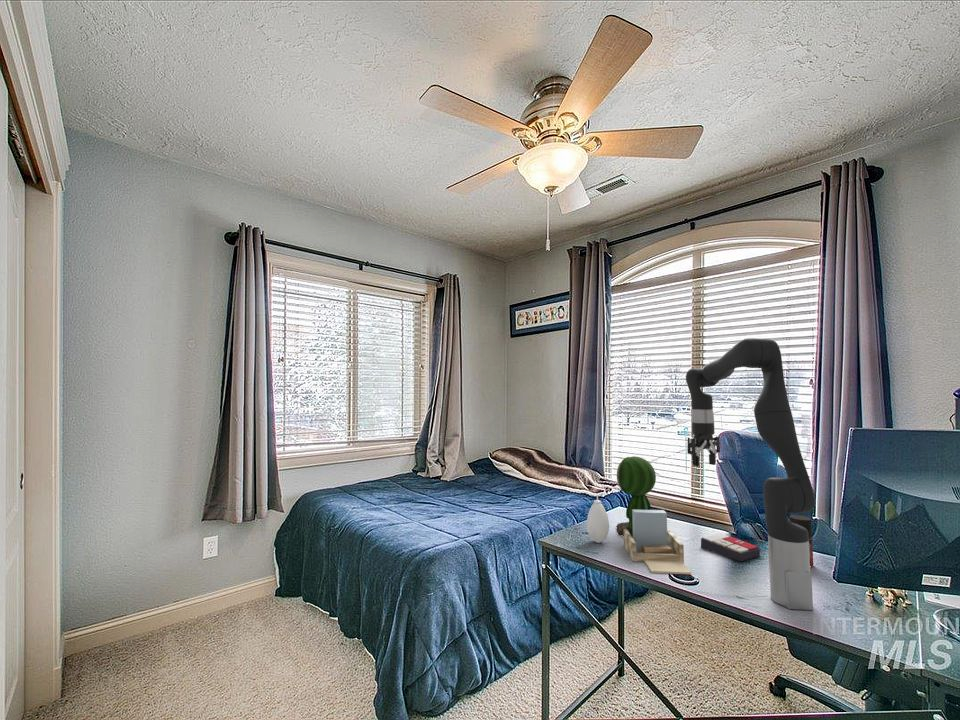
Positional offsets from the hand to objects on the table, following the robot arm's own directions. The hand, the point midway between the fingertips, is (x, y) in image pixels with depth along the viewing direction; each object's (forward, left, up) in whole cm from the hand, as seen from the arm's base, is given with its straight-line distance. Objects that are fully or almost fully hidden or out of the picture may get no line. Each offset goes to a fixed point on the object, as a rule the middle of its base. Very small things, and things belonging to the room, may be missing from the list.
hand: (704, 465), depth 165 cm
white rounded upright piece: (0, +39, -29) cm, 49 cm away
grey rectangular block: (-8, +22, -29) cm, 38 cm away
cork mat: (-22, +21, -29) cm, 42 cm away
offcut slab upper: (-15, +22, -28) cm, 38 cm away
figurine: (+13, +21, -29) cm, 38 cm away
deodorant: (-15, -24, -29) cm, 41 cm away
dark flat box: (-5, -6, -30) cm, 31 cm away
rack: (-10, +22, -29) cm, 38 cm away
